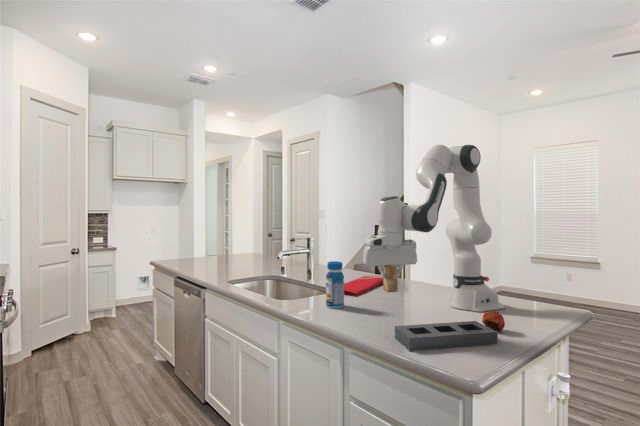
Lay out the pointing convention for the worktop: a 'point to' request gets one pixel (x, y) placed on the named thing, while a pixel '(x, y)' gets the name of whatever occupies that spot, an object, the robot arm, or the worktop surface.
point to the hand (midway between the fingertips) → (390, 277)
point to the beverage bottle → (334, 285)
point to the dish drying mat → (361, 285)
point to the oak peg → (390, 278)
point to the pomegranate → (493, 320)
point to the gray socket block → (445, 335)
